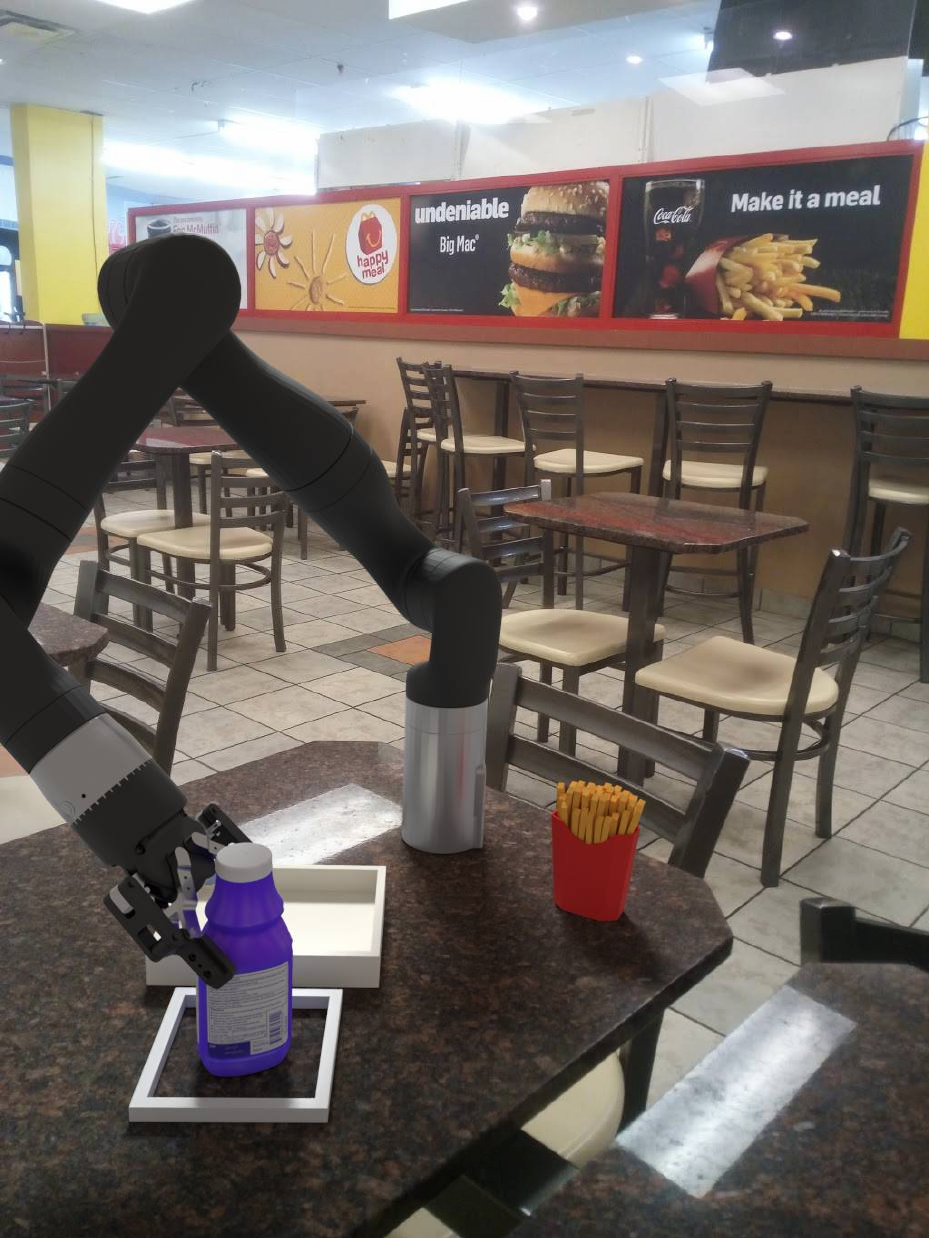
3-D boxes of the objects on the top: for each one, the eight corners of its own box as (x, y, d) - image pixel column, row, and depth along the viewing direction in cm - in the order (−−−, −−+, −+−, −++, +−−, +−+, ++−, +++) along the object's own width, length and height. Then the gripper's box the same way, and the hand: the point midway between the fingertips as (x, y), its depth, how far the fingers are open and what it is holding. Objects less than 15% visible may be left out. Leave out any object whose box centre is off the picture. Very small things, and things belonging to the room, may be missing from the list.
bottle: (284, 1024, 82) (283, 830, 78) (299, 1069, 77) (299, 864, 72) (193, 1042, 79) (187, 842, 75) (202, 1090, 74) (196, 879, 70)
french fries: (541, 904, 102) (549, 786, 99) (557, 885, 106) (565, 771, 102) (627, 929, 98) (638, 807, 95) (640, 909, 102) (652, 791, 98)
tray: (385, 893, 103) (386, 866, 102) (378, 987, 87) (379, 956, 86) (188, 890, 102) (187, 862, 101) (146, 984, 86) (145, 953, 85)
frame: (342, 1001, 85) (342, 989, 85) (327, 1122, 72) (327, 1108, 71) (176, 999, 84) (175, 987, 84) (129, 1121, 71) (128, 1107, 71)
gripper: (84, 799, 67) (245, 977, 68) (186, 727, 81) (320, 877, 81) (19, 859, 69) (175, 1031, 70) (129, 780, 83) (259, 925, 83)
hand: (253, 948), depth 76 cm, fingers open, 8 cm apart
